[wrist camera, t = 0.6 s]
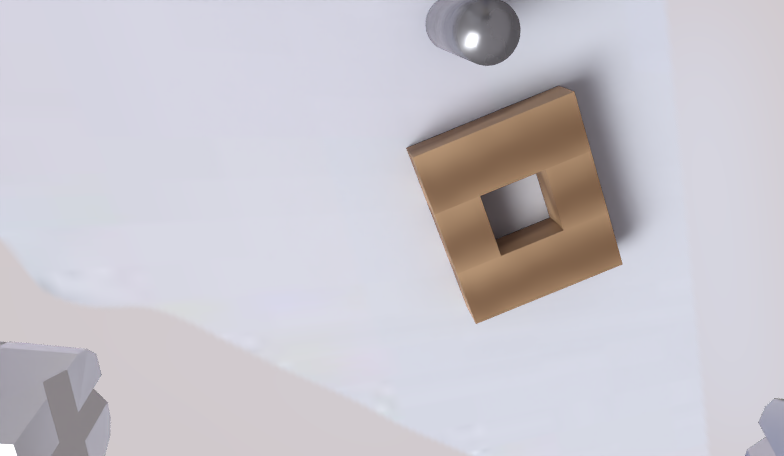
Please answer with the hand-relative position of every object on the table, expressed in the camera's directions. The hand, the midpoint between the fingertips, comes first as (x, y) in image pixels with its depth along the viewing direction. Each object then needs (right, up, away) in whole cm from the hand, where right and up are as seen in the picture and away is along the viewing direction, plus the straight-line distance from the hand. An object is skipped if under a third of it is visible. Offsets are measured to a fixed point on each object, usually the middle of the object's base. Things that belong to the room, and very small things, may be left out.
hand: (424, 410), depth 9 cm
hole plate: (+9, +4, +44) cm, 45 cm away
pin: (+4, +16, +39) cm, 43 cm away
